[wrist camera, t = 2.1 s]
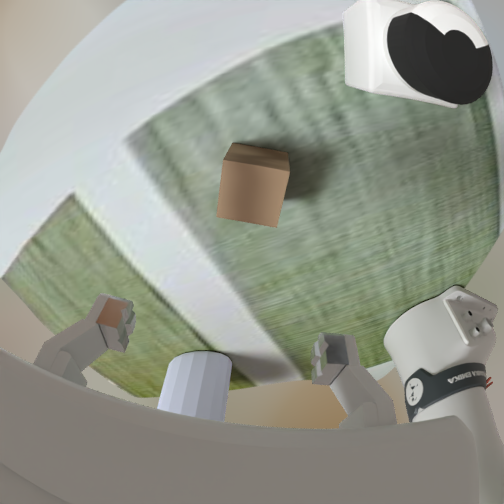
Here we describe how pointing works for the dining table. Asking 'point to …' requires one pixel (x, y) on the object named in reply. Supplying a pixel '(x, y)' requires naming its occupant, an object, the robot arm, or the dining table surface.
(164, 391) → the soap bottle
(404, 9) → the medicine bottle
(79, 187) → the dining table surface
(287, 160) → the walnut cube
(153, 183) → the dining table surface
